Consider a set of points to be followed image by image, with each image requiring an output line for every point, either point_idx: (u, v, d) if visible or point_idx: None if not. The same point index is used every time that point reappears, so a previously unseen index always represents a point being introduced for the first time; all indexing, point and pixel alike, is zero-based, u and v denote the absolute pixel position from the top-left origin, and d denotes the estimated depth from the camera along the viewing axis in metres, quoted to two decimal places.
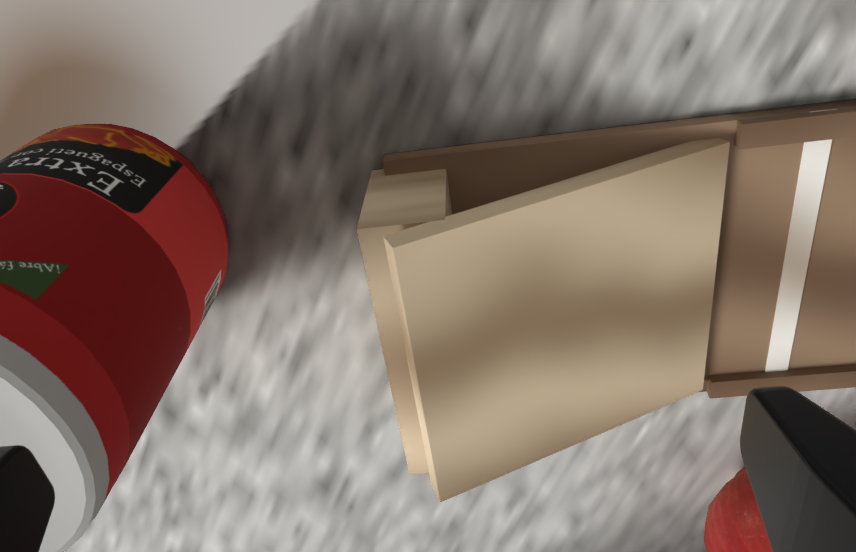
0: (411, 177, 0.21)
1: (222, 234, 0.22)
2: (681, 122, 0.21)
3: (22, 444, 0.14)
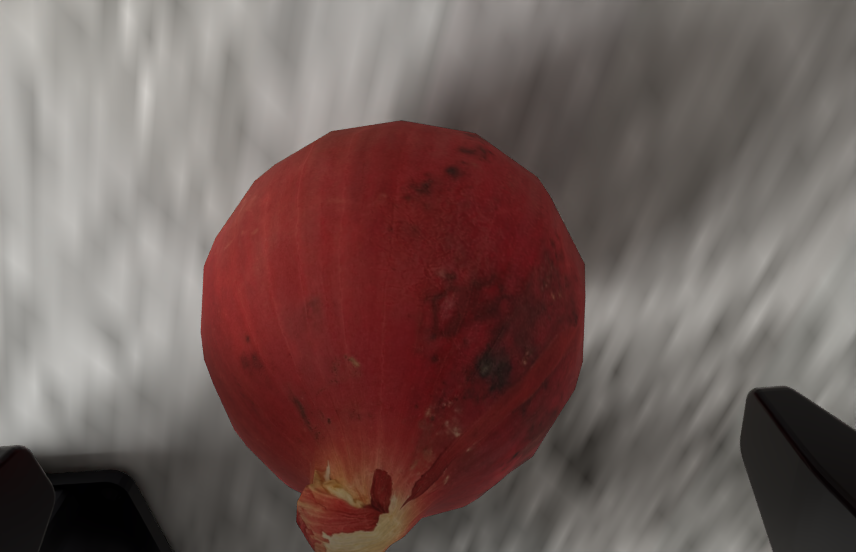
0: None
1: None
2: None
3: None
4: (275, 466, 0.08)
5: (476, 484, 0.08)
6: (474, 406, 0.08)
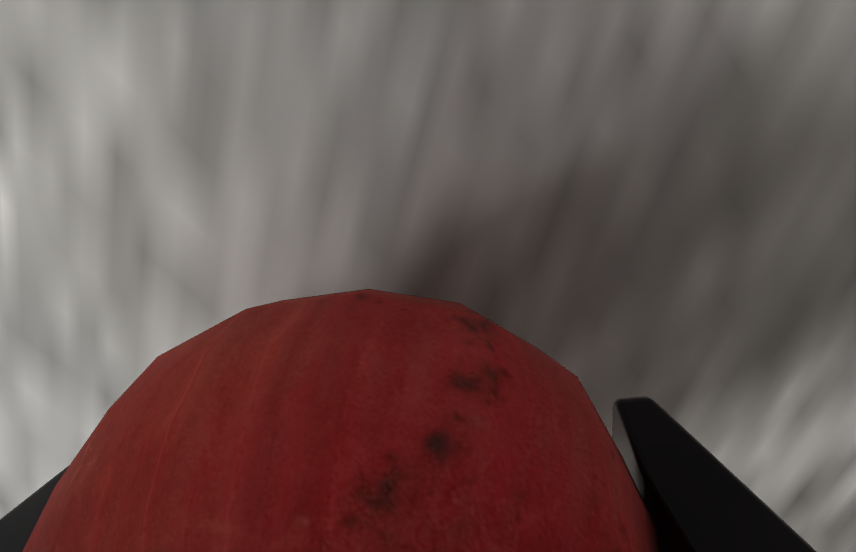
0: None
1: None
2: None
3: None
4: None
5: None
6: None
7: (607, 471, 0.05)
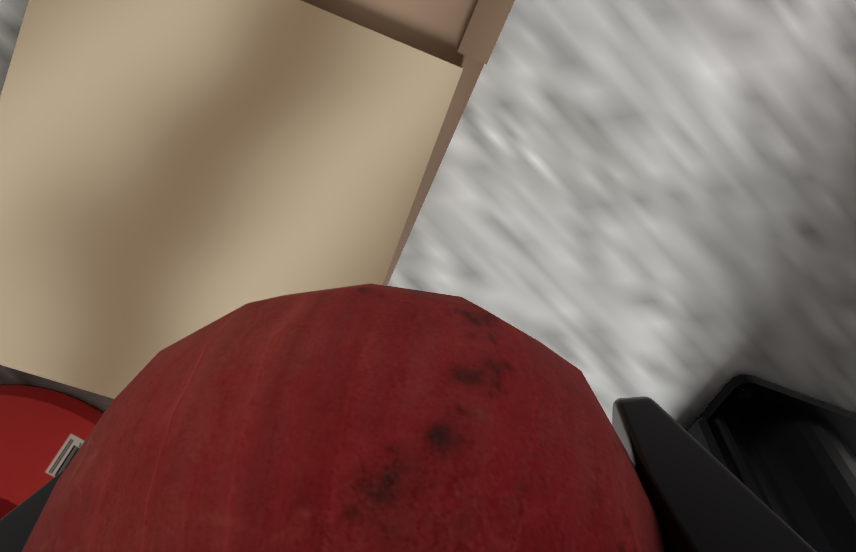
0: None
1: (47, 410, 0.23)
2: None
3: None
4: None
5: None
6: None
7: (611, 464, 0.05)
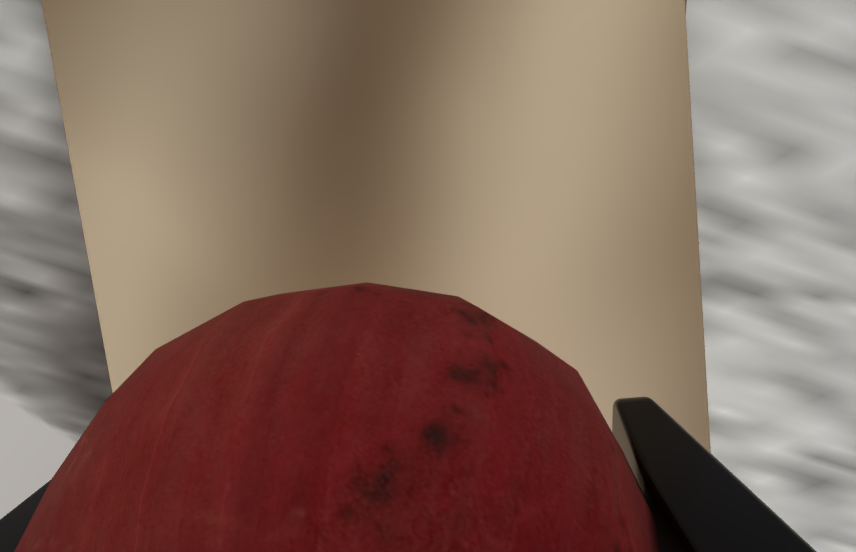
0: None
1: None
2: None
3: None
4: None
5: None
6: None
7: (607, 464, 0.05)
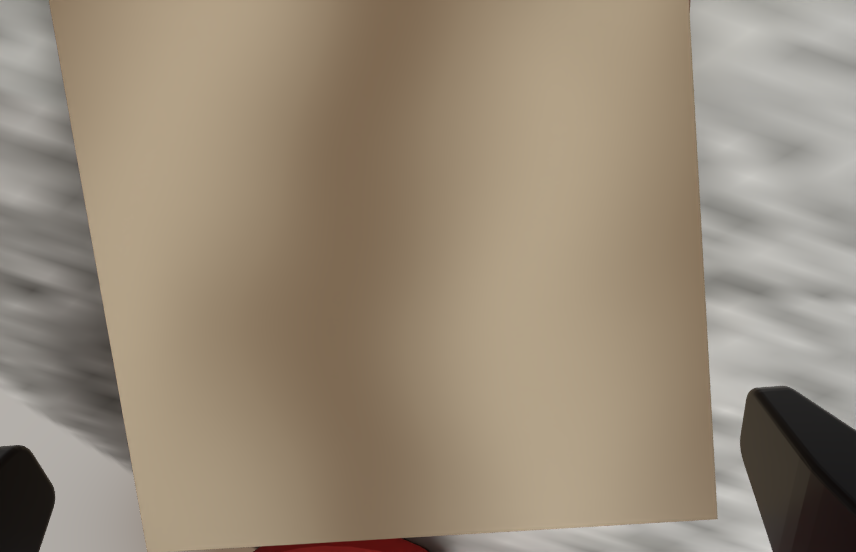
0: None
1: None
2: None
3: None
4: None
5: None
6: None
7: None
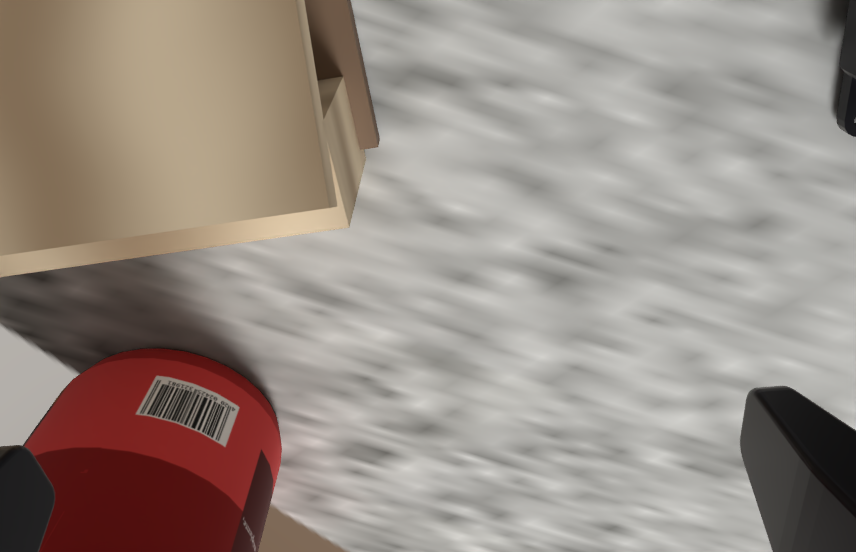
0: None
1: (128, 364, 0.21)
2: None
3: None
4: None
5: None
6: None
7: None
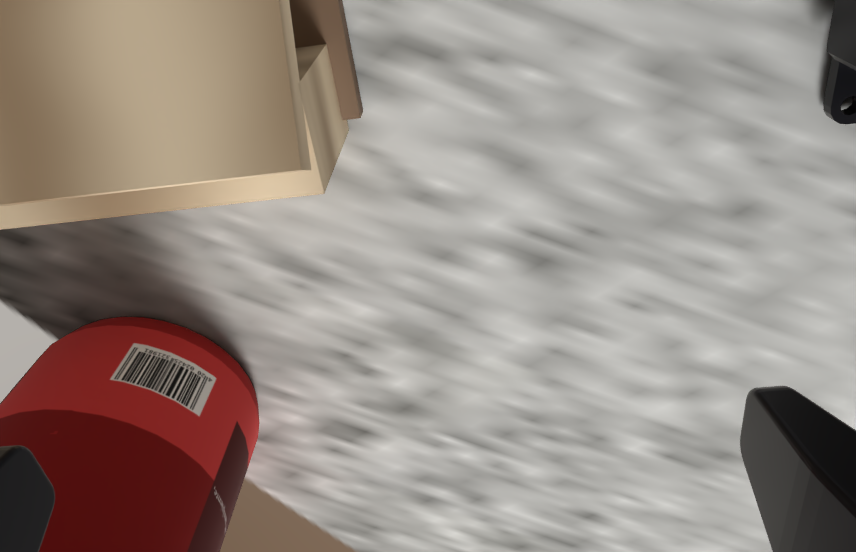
0: None
1: (106, 331, 0.21)
2: None
3: None
4: None
5: None
6: None
7: None
